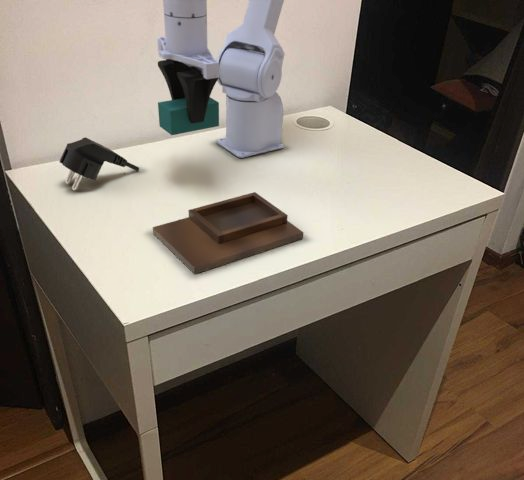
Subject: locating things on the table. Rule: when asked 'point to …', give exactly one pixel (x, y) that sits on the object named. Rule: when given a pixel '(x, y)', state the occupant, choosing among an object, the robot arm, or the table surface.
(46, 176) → the table surface
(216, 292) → the table surface
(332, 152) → the table surface
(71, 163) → the power plug
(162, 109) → the teal rectangular block
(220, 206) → the brown wooden tray
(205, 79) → the robot arm
